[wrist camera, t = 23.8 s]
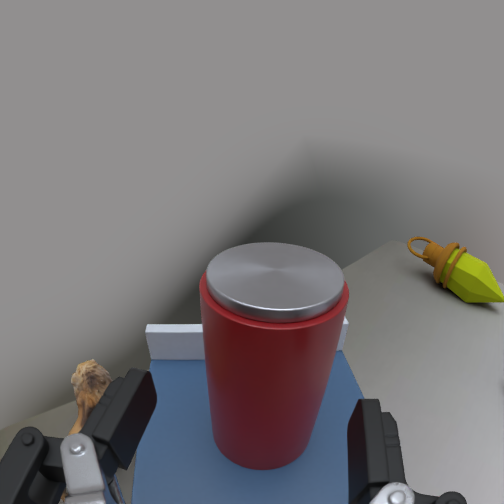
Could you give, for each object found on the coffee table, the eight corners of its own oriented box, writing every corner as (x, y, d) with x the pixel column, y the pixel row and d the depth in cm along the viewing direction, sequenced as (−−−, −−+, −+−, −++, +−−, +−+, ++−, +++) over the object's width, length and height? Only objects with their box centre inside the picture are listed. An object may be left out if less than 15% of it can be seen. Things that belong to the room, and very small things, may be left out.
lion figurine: (95, 407, 29) (68, 348, 25) (138, 414, 29) (118, 355, 25) (59, 518, 15) (6, 476, 12) (112, 534, 16) (66, 502, 12)
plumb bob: (503, 305, 48) (415, 248, 65) (521, 272, 42) (423, 214, 59) (489, 331, 44) (394, 266, 61) (510, 297, 39) (402, 230, 55)
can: (214, 473, 15) (194, 318, 10) (211, 396, 21) (201, 240, 16) (319, 463, 16) (376, 308, 11) (299, 390, 22) (325, 239, 16)
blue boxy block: (164, 559, 15) (110, 522, 9) (169, 418, 29) (146, 323, 23) (360, 539, 16) (432, 484, 11) (319, 409, 31) (345, 316, 25)
